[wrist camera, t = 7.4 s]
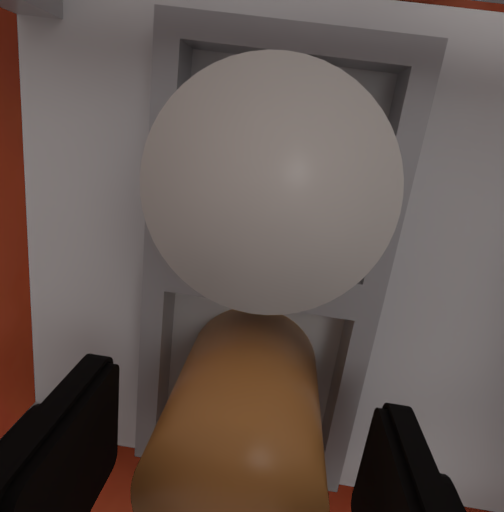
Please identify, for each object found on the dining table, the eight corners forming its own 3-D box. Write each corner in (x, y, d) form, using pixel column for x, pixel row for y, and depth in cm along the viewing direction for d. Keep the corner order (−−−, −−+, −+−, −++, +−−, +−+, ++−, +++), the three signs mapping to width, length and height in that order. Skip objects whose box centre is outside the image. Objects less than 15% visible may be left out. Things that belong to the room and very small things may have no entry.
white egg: (214, 78, 10) (145, 33, 5) (367, 97, 10) (435, 67, 5) (201, 225, 11) (135, 295, 7) (338, 245, 11) (371, 332, 6)
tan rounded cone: (197, 297, 12) (133, 407, 7) (325, 317, 12) (347, 444, 7) (187, 404, 13) (127, 560, 8) (304, 424, 13) (310, 596, 8)
